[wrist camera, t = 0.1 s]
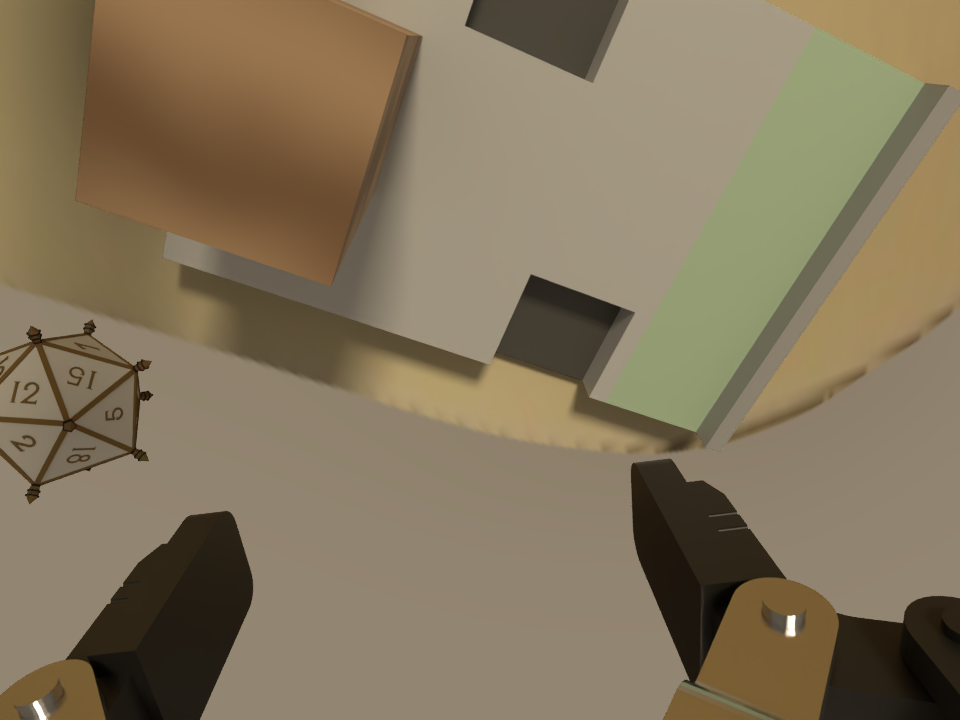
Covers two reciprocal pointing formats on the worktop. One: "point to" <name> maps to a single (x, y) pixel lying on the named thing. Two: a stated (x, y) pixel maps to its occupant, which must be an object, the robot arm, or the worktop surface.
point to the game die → (67, 406)
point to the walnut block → (243, 122)
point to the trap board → (621, 193)
